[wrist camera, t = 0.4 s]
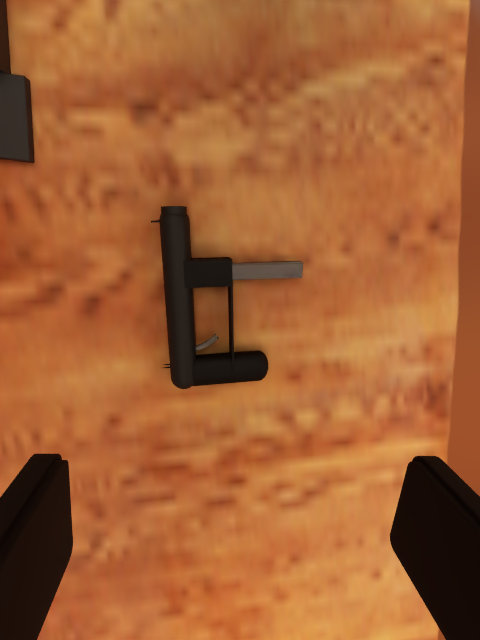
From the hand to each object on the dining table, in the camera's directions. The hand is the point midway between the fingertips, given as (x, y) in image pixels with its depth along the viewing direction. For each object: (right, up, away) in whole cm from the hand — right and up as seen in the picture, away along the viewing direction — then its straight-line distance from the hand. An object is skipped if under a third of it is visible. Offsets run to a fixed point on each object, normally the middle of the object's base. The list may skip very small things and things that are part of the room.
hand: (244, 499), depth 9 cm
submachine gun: (-1, +7, +29) cm, 30 cm away
